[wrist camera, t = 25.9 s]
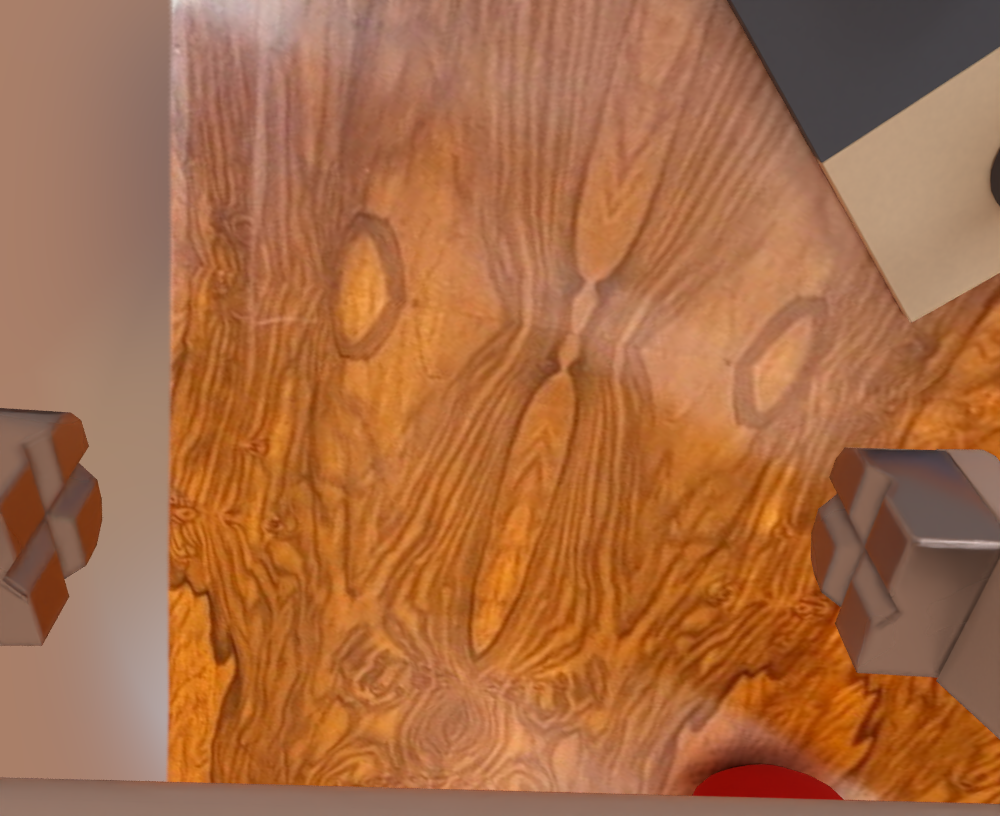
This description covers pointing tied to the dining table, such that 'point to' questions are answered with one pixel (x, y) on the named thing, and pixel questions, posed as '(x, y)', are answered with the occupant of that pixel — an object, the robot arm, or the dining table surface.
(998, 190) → the sundae
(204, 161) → the dining table surface
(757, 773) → the tomato
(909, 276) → the board
